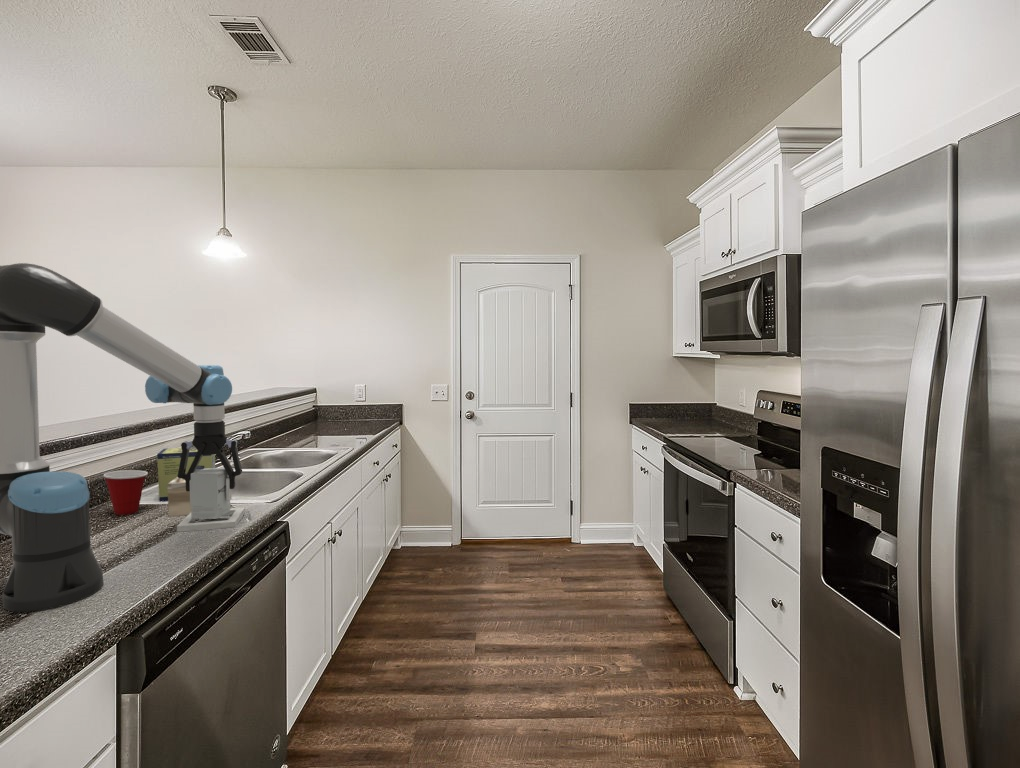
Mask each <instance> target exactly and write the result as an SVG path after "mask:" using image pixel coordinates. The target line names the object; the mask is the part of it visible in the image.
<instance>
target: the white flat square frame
mask: <svg viewBox="0 0 1020 768" xmlns="http://www.w3.org/2000/svg"><path fill="white" fill-rule="evenodd" d="M245 512H246V507H232V508H231V507H230V512H227V513H226V514H224V515H222V516H221V517H227V516H230V517H229V519H227V520H214V521H203V522H202V521H201V522H195V521H196V520H197V519H193V518H191V513H190V514H189V515H186V516H185V517H184V519H182V521H181V522H180V523H178V524H177V526H176V532H177V533H179V532H181V533H182V532H192V531H193V532H194V531H204V530H205V531H207V530H217V529H229V528H236V526H237V525H238V524H239V522H240V520H241V519H242V518H243V516H244V515H245Z"/></svg>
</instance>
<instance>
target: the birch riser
mask: <svg viewBox="0 0 1020 768" xmlns="http://www.w3.org/2000/svg"><path fill="white" fill-rule="evenodd" d="M167 485H168V501H167V507H168V511H167V512H168V517H178V516H188V515H189V514H190V513H191V504H190V491H188V492H187V491H186V481H185V479H182V478H178V477H176V478H175V479H174V480H172V481H171V482H170V483H168V484H167Z"/></svg>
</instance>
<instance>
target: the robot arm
mask: <svg viewBox="0 0 1020 768" xmlns="http://www.w3.org/2000/svg"><path fill="white" fill-rule="evenodd" d="M46 327H47V328H49V329H53V330H55V331H57V332H59V333H61V334H62V335H64V336H67V337H75V336H77V337H80V338H81V339H83V341H84V340H85V341H87V342H88V343H90V344H92V345H93V346H96V347H97V348H99V349H101V350H103V351H105V352H106V353H108V354H110V355H112V356H113V357H115V358H117V359H119V360H121V361H123V362H124V363H127V364H128V365H130V366H132V367H134V368H135V369H137V370H138V371H141V372H143V373H144V374H146V375H148V377H147V379H146V381H145V385H144V389H145V390H144V393H145V395H146V397H147V399H148V400H149V401H150V402H152V403H154V404H169V403H182V404H183V403H184V404H193V406H192V407H193V420H194V421H195V422H194V423H193V435H194V436H193V439H192V440H190V441H187V440H185V441H183V442H181V443H180V448H182V455H181V460H180V465H179V471H178V476H177V477H178V478H182V479H185V481H186V491H187V492H188V491H190V504H191V473H194V472H195V470H196V468H197V466H198V464H199V462H200V460H201V458H202V456H203V455H207V454H215V456H216V457H217V458H218V459H219V461H220V463H221V464H222V466H223V467H222V468H225V470H226V472H227V474H228V476H229V477H227V478H226V501H227V502H230V503H231V500H233V499H232V490H234V489H235V487H236V477H237V476H240V475H241V474H242V473H243V469H242V465H241V460H240V459H241V458H240V454H239V452H238V442H239V441H238V440H237V439H233V440H232V439H227V437H226V422H225V421H224V419H225V418H226V417H225V415H226V414H225V403H226V402H227V401H228V400H229V399H230V397H231V395H232V394H233V384H232V382H231V380H230V379H229V378H228V377H227V376H226V375H224V368H223V366H221V365H215V364H214V365H212V364H208V365H205V364H202V365H201V364H200V365H199V364H198V365H197V364H195V362H193V361H191V360H190V359H187V358H186V357H184V356H183V355H181V354H179V353H178V352H177V351H175V350H174V349H172V348H171V347H169V346H167V345H165V344H164V343H162V342H160V341H159V340H158V339H156V338H154V337H152V336H151V335H149V334H148V333H146V332H144V331H143V330H142V329H140V328H138V327H137V326H135V325H134V324H132V323H131V322H128V321H127V320H125V319H124V318H122V317H120V316H119V315H118V314H116V313H115V312H113V311H111V310H109V309H108V308H106V307H105V306H104V305H103V301H102V298H100V297H98V296H97V295H95V294H94V293H92V292H90V291H89V290H87V289H85V288H84V287H82V286H81V285H79V284H78V283H76V282H74V281H72V280H71V279H69V278H68V277H65V276H64V275H62V274H60V273H58V272H56V271H55V270H53V269H51V268H50V269H49V268H48V267H45V266H42V265H38V264H34V263H28V262H23V263H21V262H19V263H13V264H7V265H0V534H2V535H5V536H10V537H11V548H12V565H11V568H10V571H9V574H8V577H7V580H6V583H5V585H4V588H3V590H2V596H1V597H2V608H3V609H5V610H7V611H9V612H15V613H16V612H17V613H18V612H22V613H23V612H26V613H27V612H37V611H42V610H48V609H54V608H59V607H61V606H65V605H69V604H71V603H74V602H78V601H80V600H83V599H85V598H87V597H89V596H92V595H93V594H95V593H96V592H98V591H99V590H101V589H102V587H103V586H104V573H103V571H102V569H101V567H100V565H99V562H98V561H97V559H96V556H95V555H94V552H93V551H92V547H91V546H92V545H91V527H90V526H91V524H90V523H91V521H90V490H89V486H88V480H86V478H85V477H84V476H83V475H81V474H79V473H76V472H71V471H56V470H55V471H51V469H50V463H49V462H48V461H47V460H45V459H44V458H42V457H41V455H40V453H41V452H40V428H39V427H40V426H39V421H40V420H39V395H38V392H39V391H38V362H37V360H38V359H37V343H38V341H39V340H41V339H42V338H44V337H45V336H46ZM226 445H227V446H228V448H229V449H230V454H231V459H232V463H233V466H232V465H231V463H230V461H229V460H228V458H227V455H226V453H225V450H224V447H225V446H226ZM192 447H195V448H196V449H197V450H198V451H197V453H196V455H195V458H194V460H193V462H192V464H191V466H190V468H189V470H188V473H187V474H186V473H185V472H186V467H187V462H188V457H189V451H190V449H191V448H192ZM233 467H234V468H233Z"/></svg>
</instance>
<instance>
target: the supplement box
mask: <svg viewBox="0 0 1020 768" xmlns="http://www.w3.org/2000/svg"><path fill="white" fill-rule="evenodd" d="M227 477H229V476H228V474H227V472H226V470H225V468H224V467H222V468H220V467H219V468H218V467H217V468H216V467H215V468H207V469H203V470H200V471H197V472H194V473H191V518H193V519H196V520H197V519H201V520H203V519H205V520H213V519H215V520H217V519H218V518H220V517H223V516H222V515H224V514H226V513H227V512H230V509H231V501H230V502H227V501H226V478H227Z"/></svg>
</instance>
